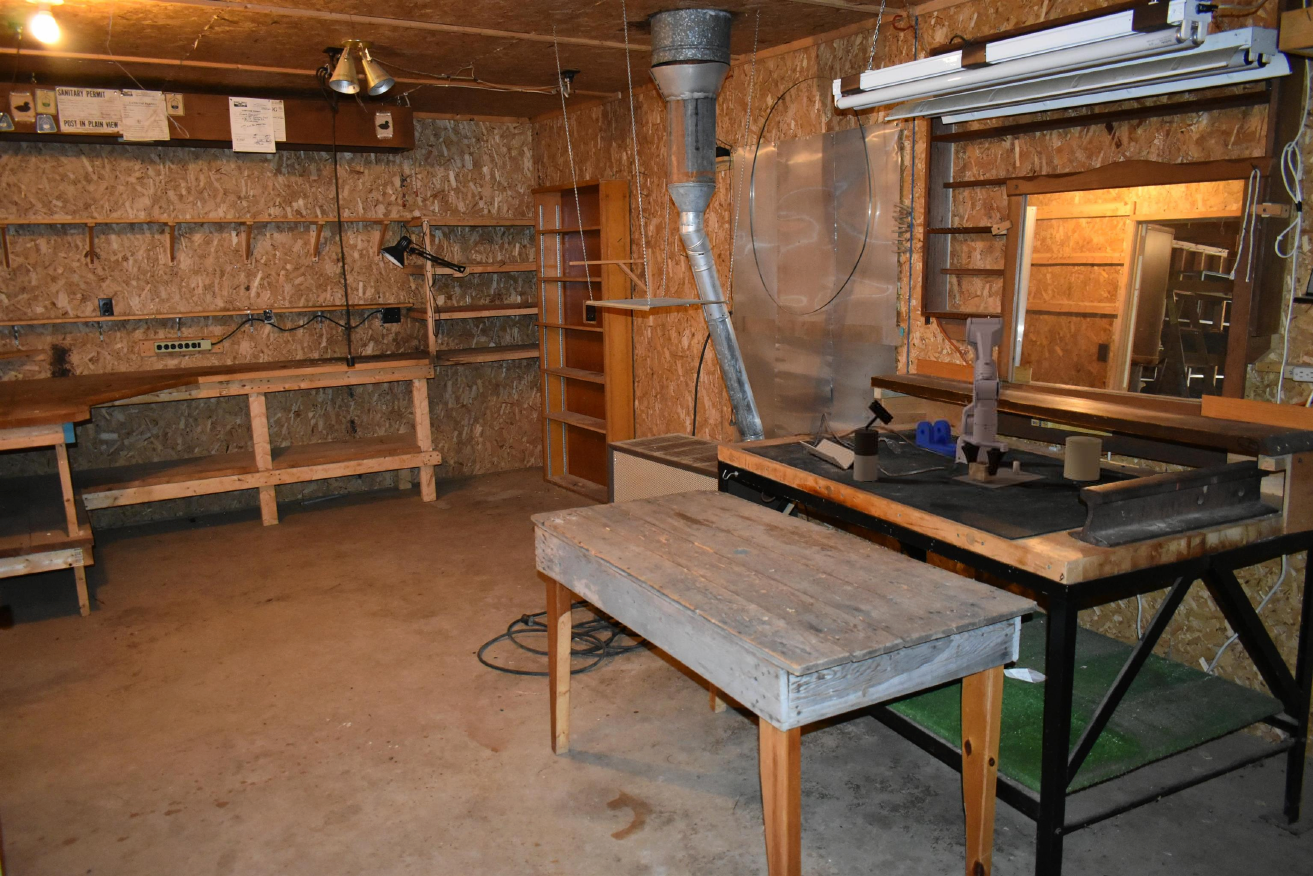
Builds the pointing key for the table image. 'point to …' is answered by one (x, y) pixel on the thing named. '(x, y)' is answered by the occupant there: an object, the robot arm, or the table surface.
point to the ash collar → (980, 471)
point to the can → (1082, 458)
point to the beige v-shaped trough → (832, 453)
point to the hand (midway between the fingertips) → (982, 473)
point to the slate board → (1001, 478)
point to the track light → (869, 445)
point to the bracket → (936, 437)
